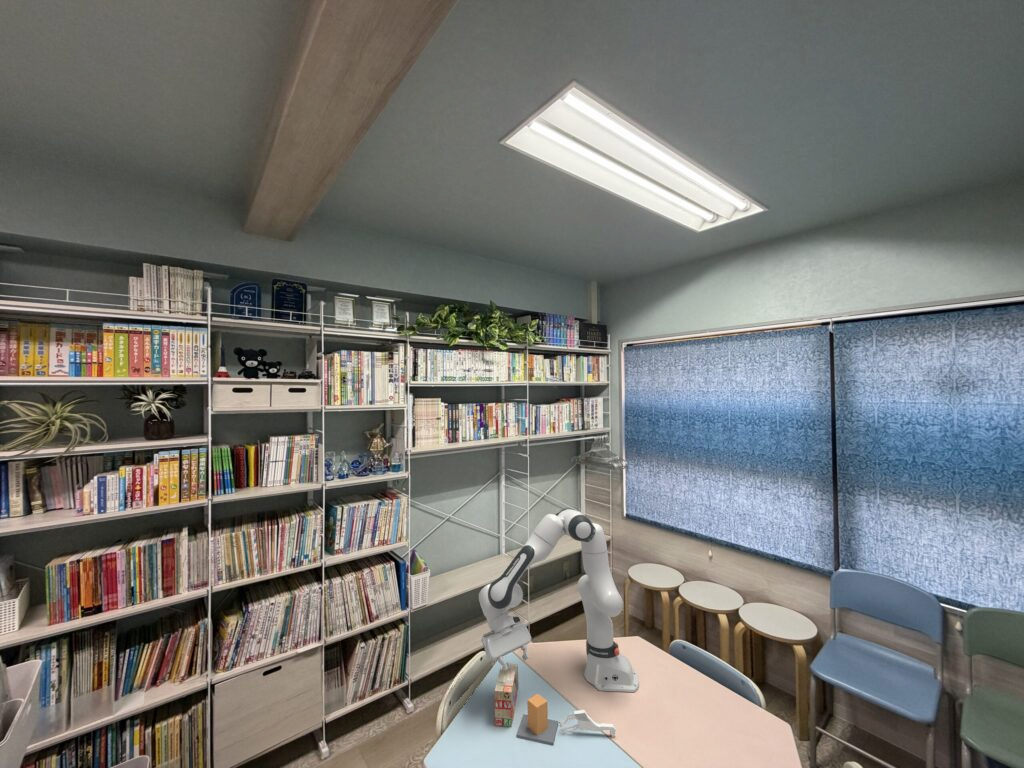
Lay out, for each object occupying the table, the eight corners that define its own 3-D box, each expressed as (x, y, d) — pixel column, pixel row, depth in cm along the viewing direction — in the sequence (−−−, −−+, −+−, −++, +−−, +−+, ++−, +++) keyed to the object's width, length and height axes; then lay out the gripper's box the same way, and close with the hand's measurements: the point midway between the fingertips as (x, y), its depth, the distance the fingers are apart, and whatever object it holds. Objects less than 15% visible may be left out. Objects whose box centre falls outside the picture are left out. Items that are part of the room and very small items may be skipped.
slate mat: (558, 723, 142) (558, 721, 142) (553, 745, 133) (553, 742, 133) (523, 716, 146) (523, 714, 146) (516, 737, 136) (516, 734, 136)
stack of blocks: (503, 686, 162) (503, 655, 163) (518, 688, 162) (518, 656, 163) (494, 726, 141) (494, 690, 142) (511, 728, 140) (511, 691, 142)
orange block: (538, 720, 143) (537, 693, 144) (547, 728, 139) (547, 701, 140) (527, 726, 140) (527, 699, 141) (537, 735, 136) (537, 707, 137)
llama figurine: (569, 754, 137) (618, 736, 135) (556, 721, 138) (604, 703, 137) (569, 749, 138) (617, 732, 137) (556, 717, 140) (603, 699, 139)
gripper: (483, 632, 150) (498, 671, 141) (523, 615, 163) (540, 650, 154) (476, 639, 153) (491, 678, 144) (516, 622, 166) (532, 657, 157)
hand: (517, 664), depth 149 cm, fingers open, 8 cm apart
